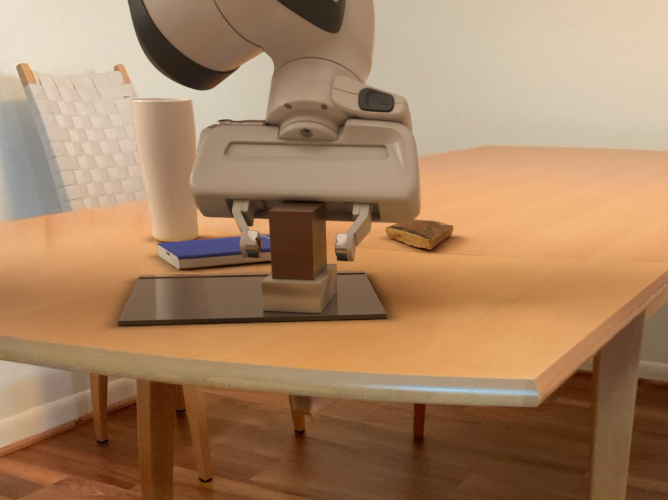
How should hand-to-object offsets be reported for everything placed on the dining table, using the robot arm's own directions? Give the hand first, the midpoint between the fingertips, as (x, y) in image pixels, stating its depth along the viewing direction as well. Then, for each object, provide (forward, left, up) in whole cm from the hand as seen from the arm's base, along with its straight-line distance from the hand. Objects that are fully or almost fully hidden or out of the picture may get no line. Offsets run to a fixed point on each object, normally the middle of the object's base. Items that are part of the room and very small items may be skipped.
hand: (296, 255), depth 78 cm
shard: (+17, +31, -5) cm, 35 cm away
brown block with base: (0, +1, -4) cm, 4 cm away
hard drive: (-7, +23, -5) cm, 24 cm away
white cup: (-13, +35, -5) cm, 37 cm away
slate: (-4, +4, -4) cm, 7 cm away
